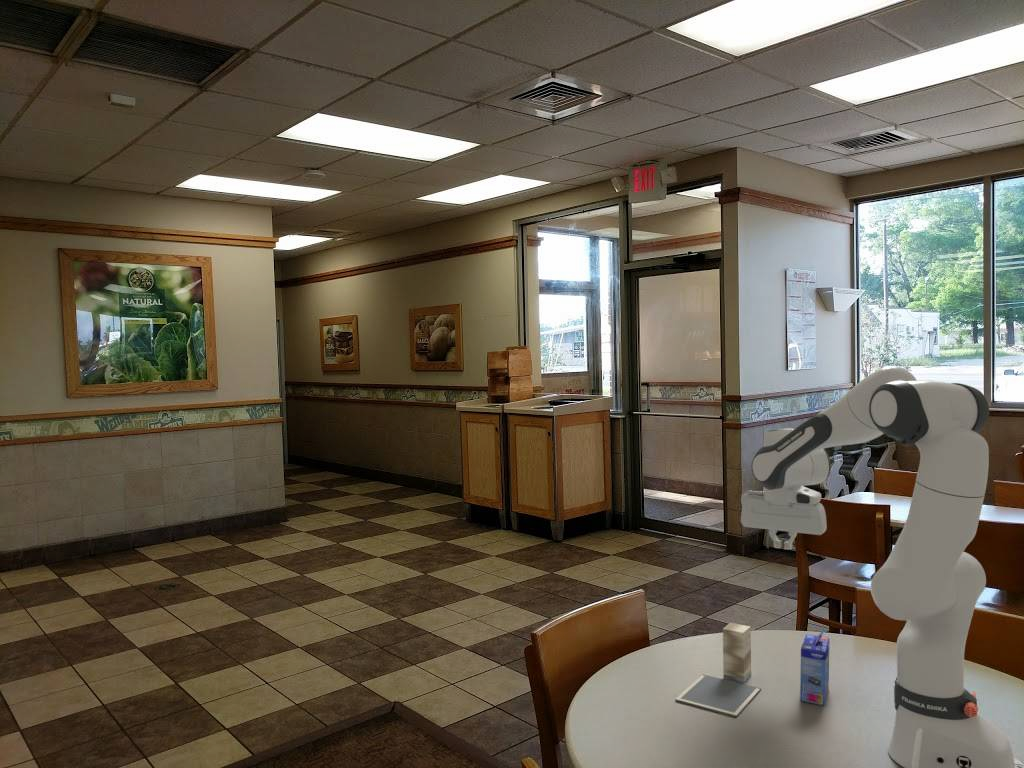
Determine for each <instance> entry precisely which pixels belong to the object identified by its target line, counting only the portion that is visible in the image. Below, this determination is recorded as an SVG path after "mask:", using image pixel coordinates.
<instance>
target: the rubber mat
mask: <svg viewBox="0 0 1024 768" xmlns="http://www.w3.org/2000/svg"><path fill="white" fill-rule="evenodd" d="M761 691H762V688H761V687H757V686H753V685H749V684H744V683H741V682H737V681H733V680H729V679H725V678H720V677H716V676H712V675H708V674H701V676H699V677H698V678H697V679H696V680H695V681H694V682H692V683H691V684H690V685H689V686H688V687H687V688H686V689H685V690H683V691H682V693H680V694H679V695H678V696H677V697H676V698H675V699H674V701H675V702H678V703H680V704H681V703H682V704H684V705H688V706H692V707H696V708H700V709H703V710H707V711H711V712H715V713H718V714H722V715H726V716H729V717H734V718H738V717H739V716H740V715H741V713H742V712H743V711H744V710H745V708H747V706H748V705H749V704H750V703H751V702H752V701H753V700H754V699H755V698H756V697H757V695H758V694H759V693H760V692H761Z"/></svg>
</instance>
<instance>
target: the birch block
mask: <svg viewBox="0 0 1024 768" xmlns="http://www.w3.org/2000/svg"><path fill="white" fill-rule="evenodd" d="M751 633H752V631H751V626H750V625H744V624H739V623H735V622H729V623H728V624H727V625H726V626H724V627H723V628H722V661H723V662H722V663H723V665H722V667H723V669H722V671H723V674H722V675H723V679H724V680H729V681H733V680H734V681H733V682H737V681H738V682H737V683H741V682H743V683H742V684H744V682H745V681H746V680H747V679H748V678H749V677H750V676H751V677H752V640H751V639H752V637H751ZM751 677H750V678H751ZM750 678H749V679H750ZM749 679H748V680H749ZM748 680H747V681H748ZM747 681H746V682H747ZM746 682H745V683H746Z"/></svg>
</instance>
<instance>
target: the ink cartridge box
mask: <svg viewBox="0 0 1024 768" xmlns="http://www.w3.org/2000/svg"><path fill="white" fill-rule="evenodd" d="M823 634H824V630H822V631H821V632H819V634H818V635H814V634H807V633H806V634H805V637H804V640H803V643H802V644H801V647H800V673H799V674H800V684H799V686H800V687H799V688H800V689H799V690H800V691H799V695H800V696H799V700H800V702H806V703H810V704H815V705H818V706H825V705H826V702H827V698H828V695H829V691H830V690H829V689H830V688H829V687H830V686H829V683H830V682H829V681H830V638H829V637H825V636H823Z"/></svg>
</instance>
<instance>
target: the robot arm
mask: <svg viewBox="0 0 1024 768" xmlns="http://www.w3.org/2000/svg"><path fill="white" fill-rule="evenodd" d="M989 418H990V406H989V402H988V399H987V397H986V396H985V395H984V394H983V392H982V391H980V390H979V389H977V388H975V387H973V386H971V385H968V384H964V383H961V382H960V383H959V382H951V383H950V382H942V381H935V380H931V379H930V380H928V379H927V380H922V379H921V380H917V379H916V377H915V376H914V375H913V374H912V373H911V372H910V371H909V370H907V369H905V368H904V367H901V366H898V365H897V366H896V365H887V366H883V367H881V368H880V369H877V370H875V371H874V372H872V373H870V374H869V375H867V376H866V377H864V378H863V379H861V380H860V381H859V382H858V383H856V385H854V386H853V387H852V388H851V389H850V390H848V391H847V393H845V394H844V395H843V396H842V397H840V398H839V399H838V400H836V401H835V402H833V403H832V404H831V405H830V406H828V407H826V408H825V409H823V410H821V411H820V412H819V413H817V414H815V415H814V416H812V417H811V418H809V419H807V420H805V421H804V422H803V423H801V424H800V425H799V426H797V427H796V428H792V427H788V428H787V427H785V428H784V427H783V428H775V429H771V430H768V431H767V432H766V433H765V435H764V439H763V446H762V447H760V448H759V449H758V450H757V451H756V453H755V455H754V457H753V459H752V461H751V472H752V475H753V477H754V479H755V480H756V481H757V482H758V483H759V484H760V485H761V486H762V487H763V489H762V491H761V490H751V489H748V490H746V491H744V492H743V493H742V494H741V497H740V503H741V506H742V507H741V512H740V514H741V515H740V522H741V525H742V526H743V527H744V528H754V529H761V530H763V529H764V530H768V534H769V537H770V538H771V540H772V541H773V547H774V548H775V549H781V548H782V546H783V545H784V547H783V548H784V550H791V551H792V549H793V542H794V540H795V539H796V537H797V535H798V534H807V535H815V536H821V535H822V534H824V533H825V532H827V528H828V527H827V526H828V525H827V513H826V510H825V507H824V505H823V504H822V503H821V500H822V493H821V492H820V491H816V490H814V489H810V488H808V487H806V486H815V485H819V484H822V483H824V482H826V481H827V479H828V478H829V476H830V475H831V470H832V464H831V463H832V462H831V458H830V456H829V454H828V452H827V450H826V449H827V448H828V449H829V448H833V447H839V446H840V447H841V446H849V445H858V444H864V443H868V442H871V441H873V440H875V439H877V438H879V437H881V436H882V435H886V436H888V437H889V438H892V439H895V440H896V441H897V443H899V444H900V445H902V446H904V447H910V446H912V445H915V446H916V447H917V449H918V452H919V455H920V458H919V464H918V469H917V474H916V478H915V484H914V488H913V492H912V497H911V500H910V501H911V502H910V507H909V511H908V515H907V517H906V521H905V523H904V526H903V528H902V530H901V532H900V534H899V535H898V538H897V540H896V542H895V544H894V546H893V548H892V549H891V552H890V554H889V556H888V558H887V559H886V561H885V562H884V563H883V565H882V566H881V567H880V568H879V569H878V570H877V571H876V572H875V573H874V575H873V577H872V579H871V582H870V593H871V597H872V600H873V602H874V603H875V606H877V608H878V609H879V611H881V612H882V613H883V614H884V615H886V616H887V617H889V618H891V619H893V620H897V621H906V622H905V625H904V627H903V629H902V630H901V632H900V633H899V634H898V637H897V640H896V678H895V680H894V684H893V704H894V709H895V718H894V725H893V732H892V736H891V739H890V742H889V746H888V748H887V749H888V750H887V751H888V754H889V756H890V758H891V759H892V760H893V761H895V762H896V763H897V764H898V765H900V766H901V767H903V768H1024V763H1023V762H1022V761H1020V760H1019V759H1017V758H1015V757H1014V752H1013V749H1012V746H1011V744H1010V742H1009V739H1008V737H1007V736H1006V734H1004V732H1002V730H999V728H997V727H996V726H995V725H994V724H992V723H991V722H989V721H988V720H987V719H986V718H985V717H983V715H981V714H980V713H979V707H978V699H977V695H976V692H975V691H973V693H971V692H970V691H968V690H967V689H966V688H965V685H964V683H965V674H964V673H965V651H966V643H967V638H968V634H969V629H970V626H971V621H972V619H973V615H974V611H975V608H976V605H977V603H978V600H979V598H980V597H981V595H982V593H984V590H985V589H986V584H987V577H986V572H985V569H984V568H983V565H982V564H981V563H980V561H978V559H977V558H976V557H975V556H973V555H971V554H970V553H968V552H966V551H965V550H966V548H967V547H968V545H970V543H971V542H972V541H973V540H974V538H975V536H976V534H977V532H978V531H977V530H978V526H979V523H980V522H979V521H980V517H981V513H982V507H983V503H984V499H985V495H986V489H987V484H988V478H989V477H988V476H989V463H990V461H989V460H990V456H989V455H990V453H989V452H990V449H989V444H988V442H987V441H986V439H985V437H984V436H982V435H981V434H979V433H980V432H982V430H984V428H985V427H986V425H987V423H988V421H989ZM780 531H781V532H788V536H789V537H790V538H789V539H788V540H785V541H784V542H783V543H782V541H783V540H781V539H779V537H778V536H777V533H778V532H780ZM782 544H783V545H782Z"/></svg>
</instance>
